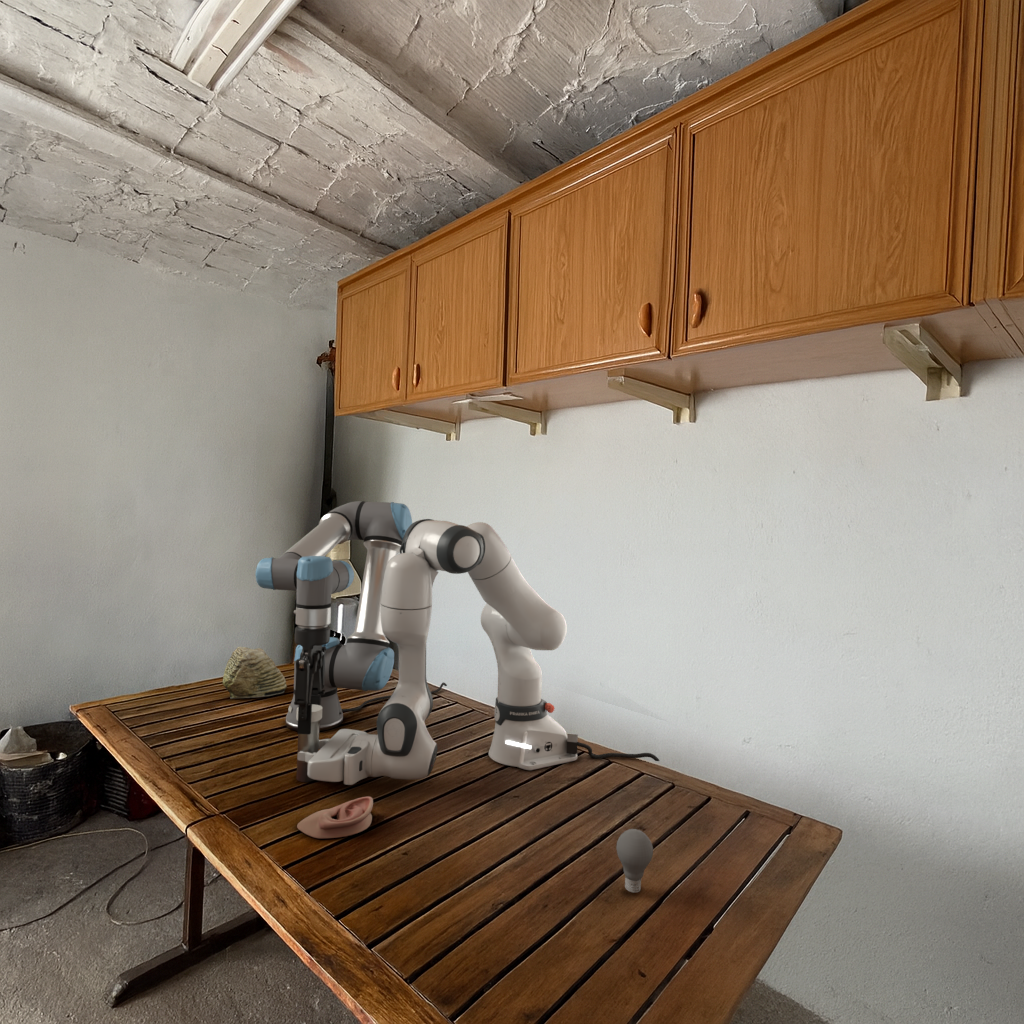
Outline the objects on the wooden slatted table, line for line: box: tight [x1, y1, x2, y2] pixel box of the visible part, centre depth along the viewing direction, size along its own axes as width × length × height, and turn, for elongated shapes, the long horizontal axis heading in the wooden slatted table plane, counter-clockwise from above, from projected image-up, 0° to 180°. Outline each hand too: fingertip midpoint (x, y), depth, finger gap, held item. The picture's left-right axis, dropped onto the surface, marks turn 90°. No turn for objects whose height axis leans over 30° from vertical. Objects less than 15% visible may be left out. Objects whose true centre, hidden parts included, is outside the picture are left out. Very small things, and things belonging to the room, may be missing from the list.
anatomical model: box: [296, 796, 374, 840], centre depth 123 cm, size 13×4×12 cm
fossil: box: [222, 646, 288, 699], centre depth 198 cm, size 9×18×15 cm, turn 132°
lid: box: [296, 704, 322, 722], centre depth 142 cm, size 6×6×2 cm
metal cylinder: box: [296, 720, 320, 783], centre depth 142 cm, size 4×4×15 cm
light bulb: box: [615, 828, 654, 894], centre depth 106 cm, size 6×6×10 cm
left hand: (308, 728), depth 142 cm, fingers closed on lid, 5 cm apart
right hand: (304, 749), depth 142 cm, fingers closed on metal cylinder, 4 cm apart
